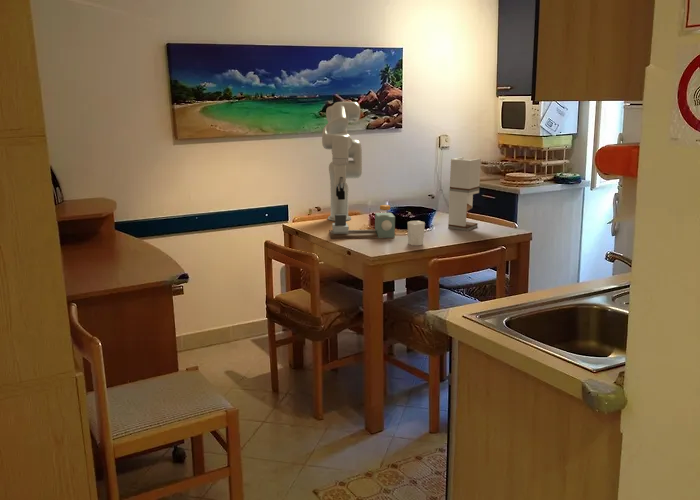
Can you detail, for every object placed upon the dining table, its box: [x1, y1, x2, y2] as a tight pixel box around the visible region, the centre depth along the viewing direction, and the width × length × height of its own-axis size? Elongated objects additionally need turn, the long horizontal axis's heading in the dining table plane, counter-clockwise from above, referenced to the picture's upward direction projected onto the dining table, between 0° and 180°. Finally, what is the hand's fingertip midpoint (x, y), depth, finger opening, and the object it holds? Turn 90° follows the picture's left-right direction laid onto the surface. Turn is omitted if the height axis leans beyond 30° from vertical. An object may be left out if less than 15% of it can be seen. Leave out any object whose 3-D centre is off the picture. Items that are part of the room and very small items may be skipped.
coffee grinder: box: [447, 157, 482, 232], centre depth 334 cm, size 11×11×35 cm
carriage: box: [331, 214, 350, 234], centre depth 317 cm, size 9×7×9 cm
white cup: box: [407, 220, 426, 246], centre depth 302 cm, size 8×8×10 cm
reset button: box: [379, 204, 391, 211], centre depth 317 cm, size 5×5×2 cm
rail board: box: [328, 229, 378, 240], centre depth 318 cm, size 12×22×3 cm, turn 96°
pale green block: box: [374, 212, 396, 239], centre depth 319 cm, size 11×8×10 cm
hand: (340, 197), depth 313 cm, fingers open, 9 cm apart
